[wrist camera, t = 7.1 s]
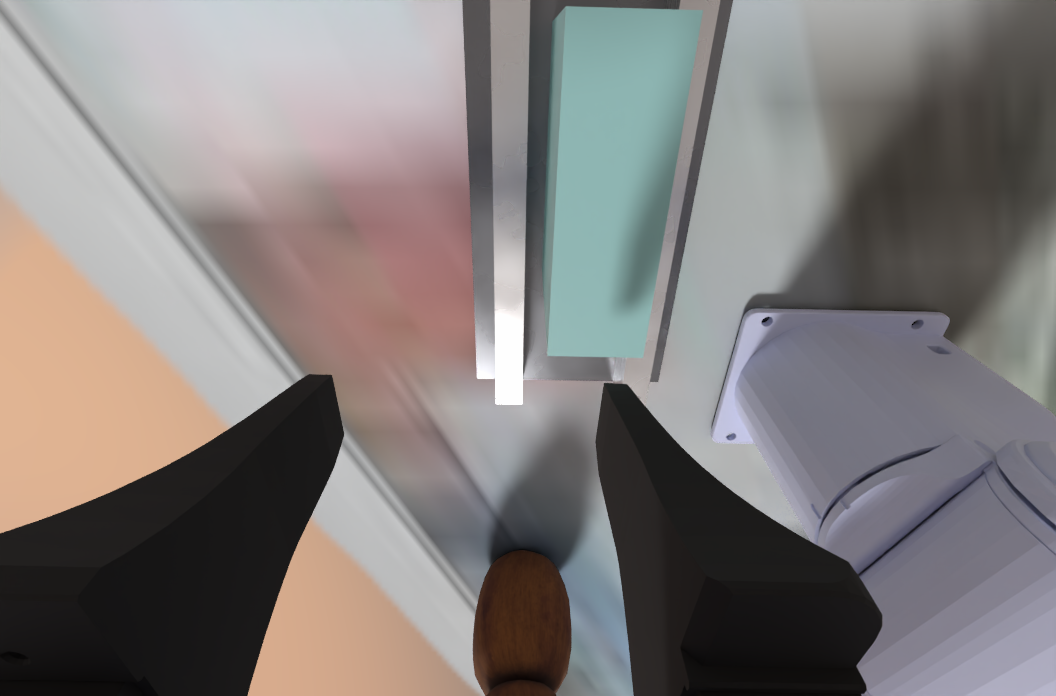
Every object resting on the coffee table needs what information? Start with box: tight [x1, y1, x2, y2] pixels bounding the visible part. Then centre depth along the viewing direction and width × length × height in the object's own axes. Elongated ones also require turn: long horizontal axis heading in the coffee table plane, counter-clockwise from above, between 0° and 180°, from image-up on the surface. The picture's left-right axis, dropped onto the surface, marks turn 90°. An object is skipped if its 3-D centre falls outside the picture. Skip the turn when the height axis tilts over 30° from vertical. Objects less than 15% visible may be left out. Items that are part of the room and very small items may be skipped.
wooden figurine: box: [473, 550, 571, 696], centre depth 27 cm, size 7×6×15 cm
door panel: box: [542, 6, 703, 358], centre depth 16 cm, size 3×9×7 cm, turn 179°
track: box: [463, 0, 733, 405], centre depth 18 cm, size 9×22×3 cm, turn 179°
